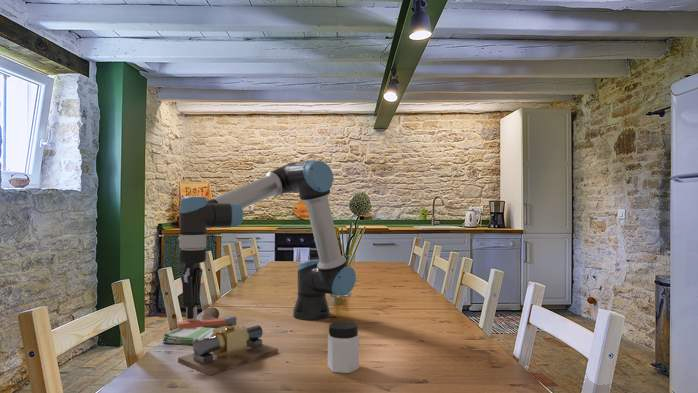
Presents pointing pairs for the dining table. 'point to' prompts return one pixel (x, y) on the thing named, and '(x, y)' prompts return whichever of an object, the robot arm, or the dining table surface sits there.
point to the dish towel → (187, 335)
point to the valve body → (227, 342)
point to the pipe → (212, 317)
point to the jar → (343, 347)
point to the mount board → (228, 360)
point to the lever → (207, 322)
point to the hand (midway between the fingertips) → (191, 328)
